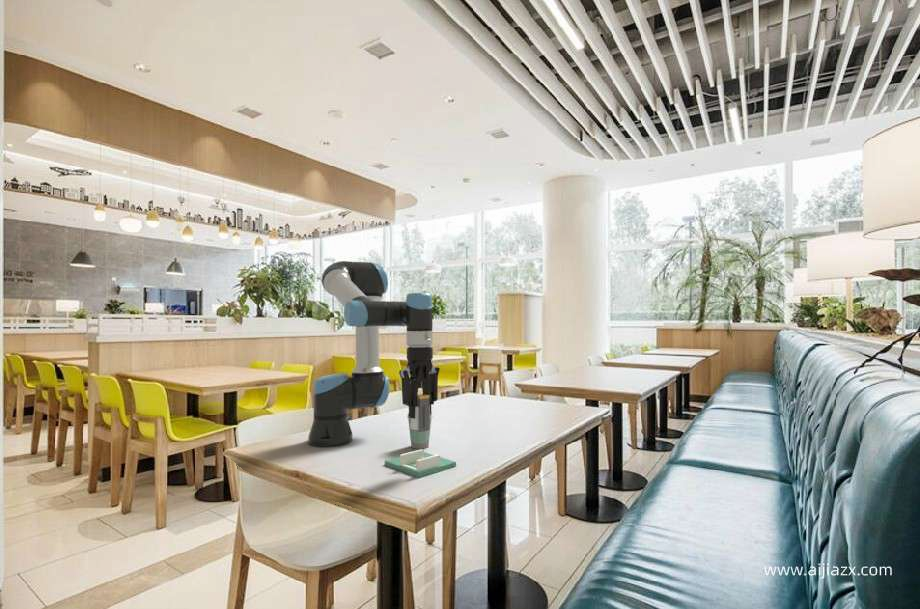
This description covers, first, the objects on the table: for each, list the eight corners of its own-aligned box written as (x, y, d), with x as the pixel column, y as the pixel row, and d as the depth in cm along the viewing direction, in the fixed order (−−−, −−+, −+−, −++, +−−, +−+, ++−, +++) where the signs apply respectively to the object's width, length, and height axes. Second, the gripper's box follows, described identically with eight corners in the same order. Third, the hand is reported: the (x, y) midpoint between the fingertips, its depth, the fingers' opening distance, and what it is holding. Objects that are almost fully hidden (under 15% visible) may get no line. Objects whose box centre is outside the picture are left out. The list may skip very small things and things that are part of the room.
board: (384, 464, 138) (384, 450, 138) (421, 455, 148) (421, 441, 148) (418, 477, 127) (418, 462, 127) (456, 466, 137) (456, 451, 137)
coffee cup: (428, 450, 153) (428, 413, 153) (403, 449, 155) (403, 413, 155) (435, 443, 161) (435, 409, 162) (411, 442, 163) (411, 408, 163)
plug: (411, 430, 134) (411, 394, 134) (420, 428, 136) (420, 393, 137) (421, 432, 130) (421, 396, 131) (431, 430, 133) (430, 395, 133)
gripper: (404, 347, 126) (405, 435, 125) (449, 345, 138) (450, 425, 137) (388, 347, 132) (388, 431, 131) (432, 344, 143) (433, 422, 142)
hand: (420, 428), depth 134 cm, fingers closed on plug, 3 cm apart
